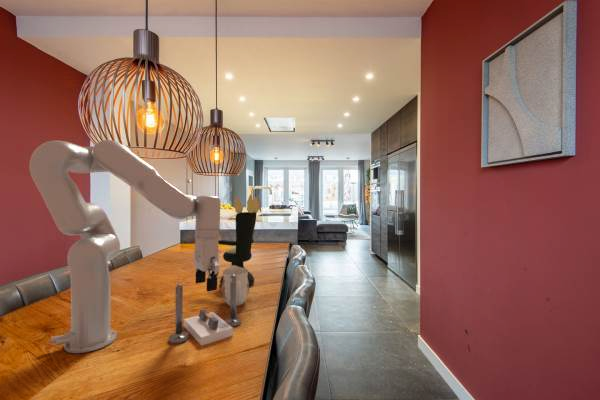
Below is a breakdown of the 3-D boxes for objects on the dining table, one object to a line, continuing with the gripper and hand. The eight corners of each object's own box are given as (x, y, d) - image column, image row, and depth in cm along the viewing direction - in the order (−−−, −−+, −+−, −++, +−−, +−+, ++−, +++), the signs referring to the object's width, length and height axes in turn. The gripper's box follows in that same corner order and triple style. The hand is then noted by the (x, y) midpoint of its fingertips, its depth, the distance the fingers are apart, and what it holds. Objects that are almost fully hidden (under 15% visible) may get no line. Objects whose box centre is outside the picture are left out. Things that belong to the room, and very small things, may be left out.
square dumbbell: (212, 329, 89) (213, 321, 90) (198, 316, 99) (200, 309, 99) (217, 328, 90) (218, 320, 91) (203, 316, 100) (204, 309, 100)
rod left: (171, 346, 85) (171, 288, 85) (166, 338, 89) (166, 283, 89) (191, 340, 88) (191, 284, 88) (185, 333, 93) (185, 280, 93)
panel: (201, 345, 85) (201, 337, 85) (184, 326, 98) (184, 318, 98) (232, 335, 91) (232, 327, 91) (212, 318, 104) (212, 311, 104)
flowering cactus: (243, 276, 158) (244, 193, 157) (269, 285, 142) (270, 194, 142) (211, 283, 145) (212, 193, 144) (236, 294, 129) (236, 193, 128)
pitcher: (224, 314, 108) (224, 277, 108) (219, 298, 125) (219, 266, 124) (253, 310, 112) (254, 274, 112) (245, 295, 129) (245, 264, 128)
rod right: (229, 328, 96) (229, 277, 96) (222, 322, 101) (222, 274, 100) (244, 324, 100) (244, 274, 100) (236, 318, 104) (236, 271, 104)
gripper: (186, 231, 98) (185, 281, 99) (206, 237, 85) (204, 296, 85) (208, 230, 103) (207, 278, 103) (230, 236, 90) (228, 291, 90)
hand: (205, 286), depth 94 cm, fingers open, 9 cm apart
